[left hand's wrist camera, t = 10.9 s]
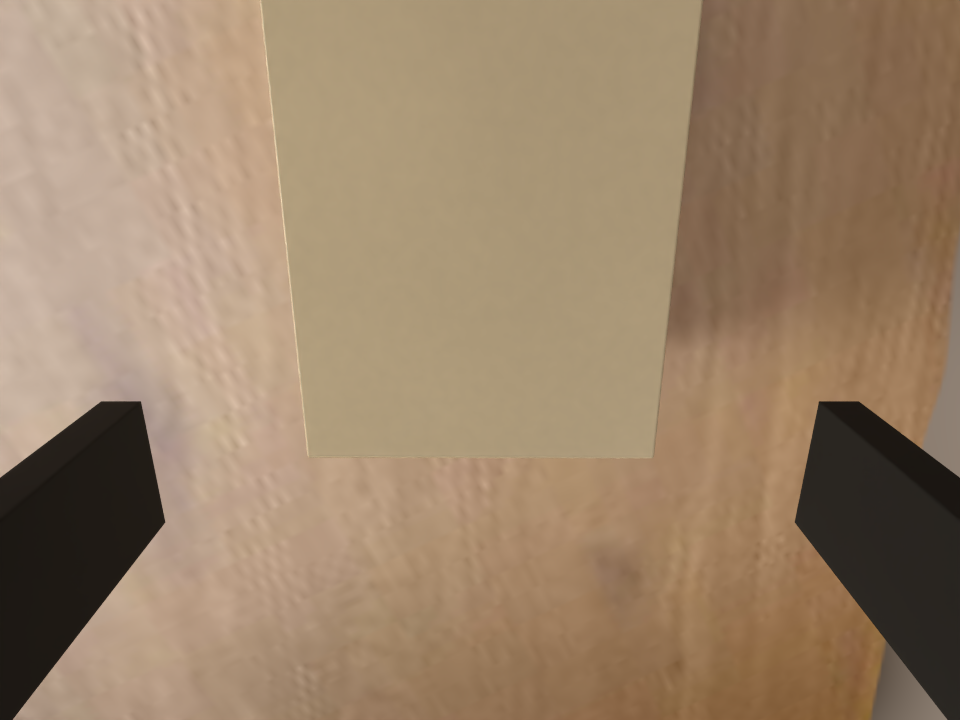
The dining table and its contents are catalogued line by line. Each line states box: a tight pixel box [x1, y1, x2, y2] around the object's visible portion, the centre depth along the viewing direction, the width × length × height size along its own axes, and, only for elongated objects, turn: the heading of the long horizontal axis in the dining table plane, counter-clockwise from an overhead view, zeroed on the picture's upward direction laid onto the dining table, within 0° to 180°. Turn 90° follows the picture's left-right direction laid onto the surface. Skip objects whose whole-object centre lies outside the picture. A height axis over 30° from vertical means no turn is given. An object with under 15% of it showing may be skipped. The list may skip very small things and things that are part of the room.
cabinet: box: [260, 0, 703, 458], centre depth 21 cm, size 21×11×9 cm, turn 0°
